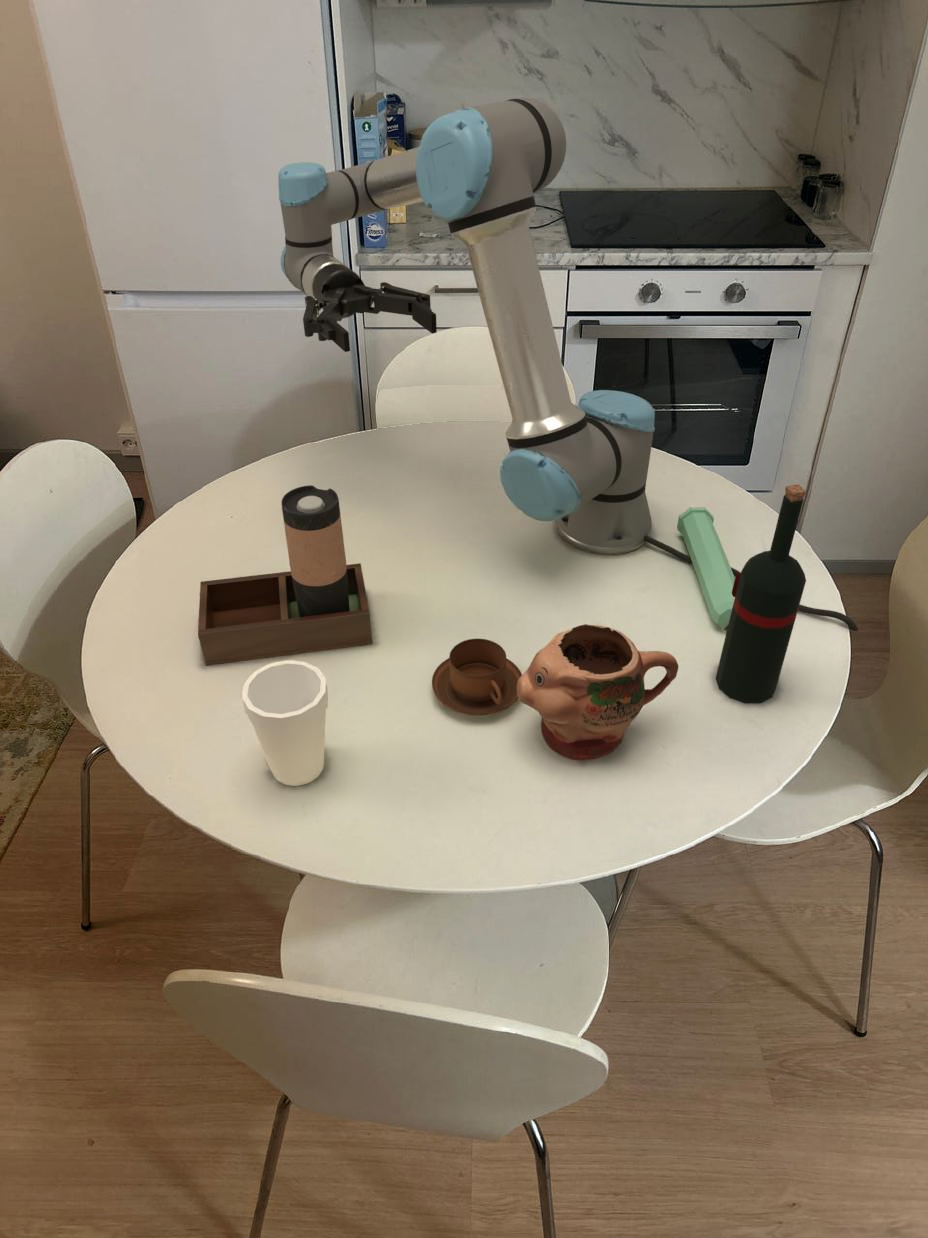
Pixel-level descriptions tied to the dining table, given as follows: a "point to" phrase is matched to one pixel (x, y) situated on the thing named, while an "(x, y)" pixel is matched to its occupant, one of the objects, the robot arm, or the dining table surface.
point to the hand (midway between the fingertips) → (391, 332)
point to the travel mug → (316, 550)
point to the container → (708, 562)
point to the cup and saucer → (476, 679)
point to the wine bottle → (763, 612)
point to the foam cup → (289, 718)
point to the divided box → (275, 619)
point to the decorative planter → (590, 689)
